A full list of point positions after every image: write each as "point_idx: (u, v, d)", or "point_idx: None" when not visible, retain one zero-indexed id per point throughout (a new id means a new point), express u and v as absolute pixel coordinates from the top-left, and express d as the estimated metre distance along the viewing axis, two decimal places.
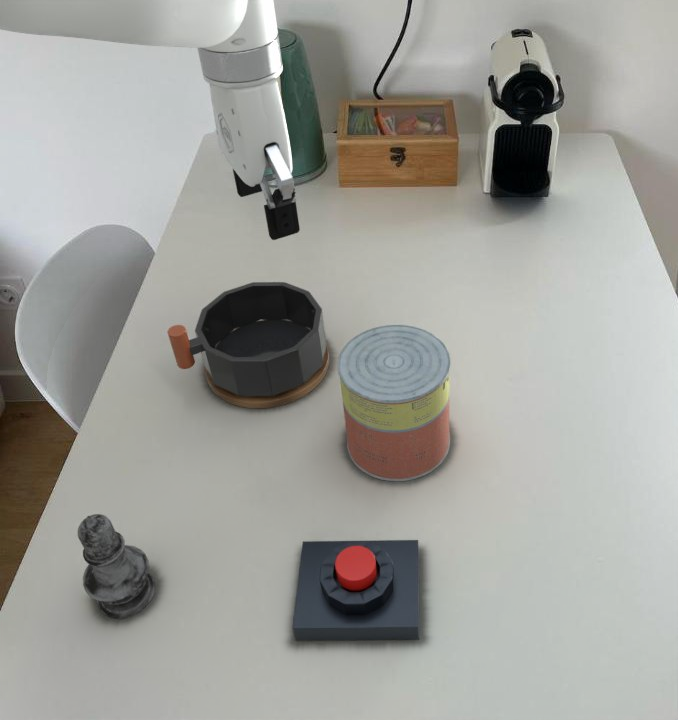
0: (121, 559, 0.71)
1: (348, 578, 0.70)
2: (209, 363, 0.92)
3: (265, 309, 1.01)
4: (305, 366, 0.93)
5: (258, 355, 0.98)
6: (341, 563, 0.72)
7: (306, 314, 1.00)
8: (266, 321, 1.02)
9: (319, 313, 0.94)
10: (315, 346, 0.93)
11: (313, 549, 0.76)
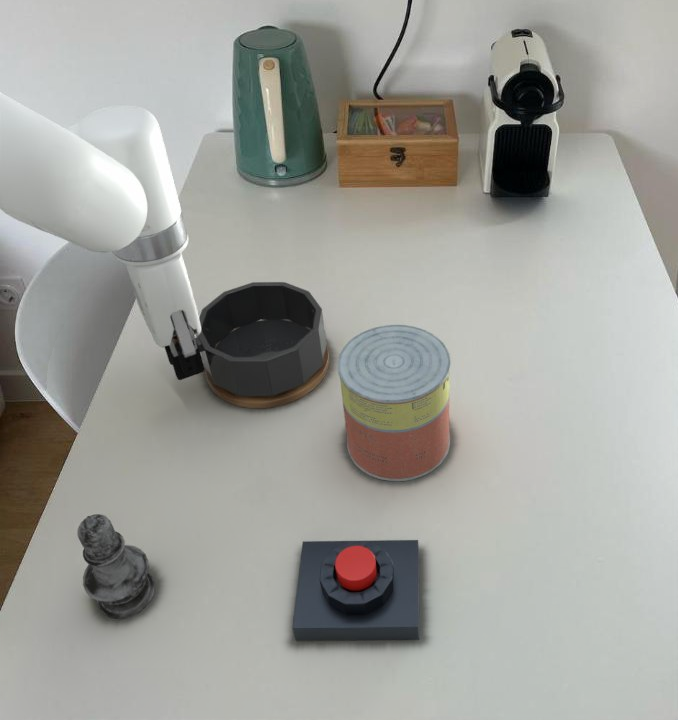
0: (121, 559, 0.71)
1: (348, 578, 0.70)
2: (209, 363, 0.92)
3: (265, 309, 1.01)
4: (305, 366, 0.93)
5: (258, 355, 0.98)
6: (341, 563, 0.72)
7: (306, 314, 1.00)
8: (266, 321, 1.02)
9: (319, 313, 0.94)
10: (315, 346, 0.93)
11: (313, 549, 0.76)
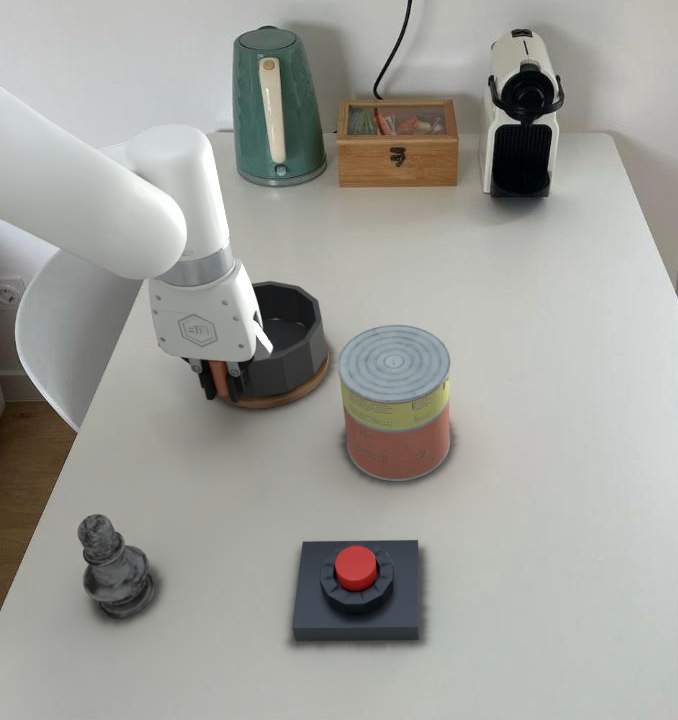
0: (121, 559, 0.71)
1: (348, 578, 0.70)
2: (250, 376, 0.90)
3: None
4: None
5: None
6: (341, 563, 0.72)
7: (272, 305, 1.01)
8: None
9: (302, 289, 0.98)
10: None
11: (313, 549, 0.76)
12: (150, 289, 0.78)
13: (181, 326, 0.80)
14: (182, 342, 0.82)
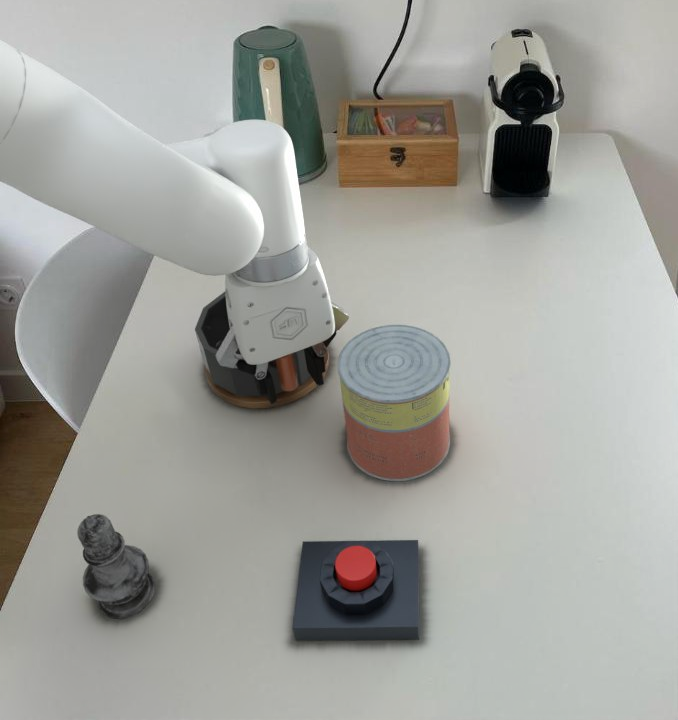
0: (121, 559, 0.71)
1: (348, 578, 0.70)
2: (298, 363, 0.91)
3: None
4: None
5: None
6: (341, 563, 0.72)
7: None
8: None
9: None
10: None
11: (313, 549, 0.76)
12: (241, 299, 0.77)
13: (272, 326, 0.80)
14: (272, 344, 0.81)
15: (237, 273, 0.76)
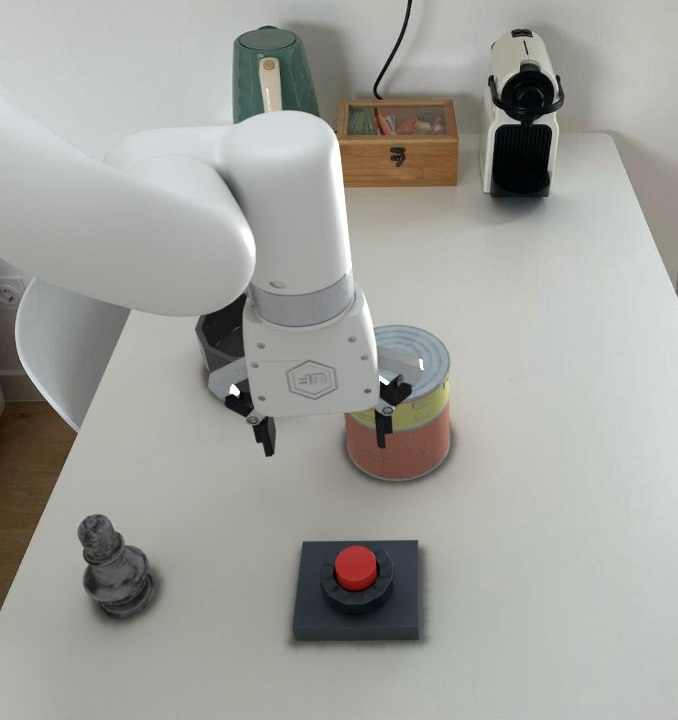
0: (121, 559, 0.71)
1: (348, 578, 0.70)
2: None
3: None
4: None
5: None
6: (341, 563, 0.72)
7: (232, 315, 1.00)
8: None
9: None
10: None
11: (313, 549, 0.76)
12: (249, 336, 0.59)
13: (289, 378, 0.62)
14: (288, 398, 0.63)
15: (251, 303, 0.58)
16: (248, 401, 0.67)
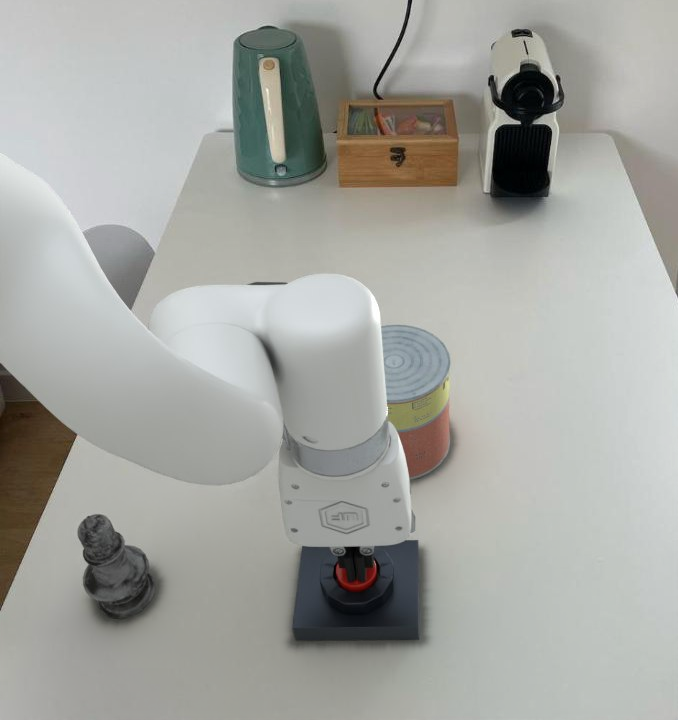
0: (121, 559, 0.71)
1: (349, 584, 0.71)
2: None
3: None
4: None
5: None
6: (342, 569, 0.72)
7: None
8: None
9: (262, 282, 0.99)
10: None
11: (313, 549, 0.76)
12: (284, 477, 0.60)
13: (322, 515, 0.62)
14: (320, 531, 0.64)
15: (287, 446, 0.59)
16: None
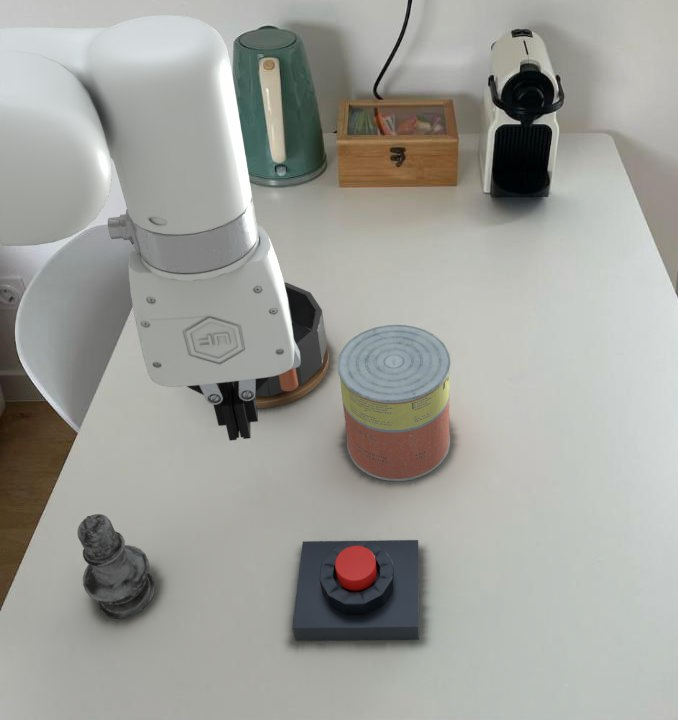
0: (121, 559, 0.71)
1: (348, 578, 0.70)
2: None
3: None
4: None
5: None
6: (341, 563, 0.72)
7: None
8: None
9: None
10: None
11: (313, 549, 0.76)
12: (136, 289, 0.51)
13: (188, 338, 0.53)
14: (188, 363, 0.55)
15: (137, 249, 0.50)
16: None
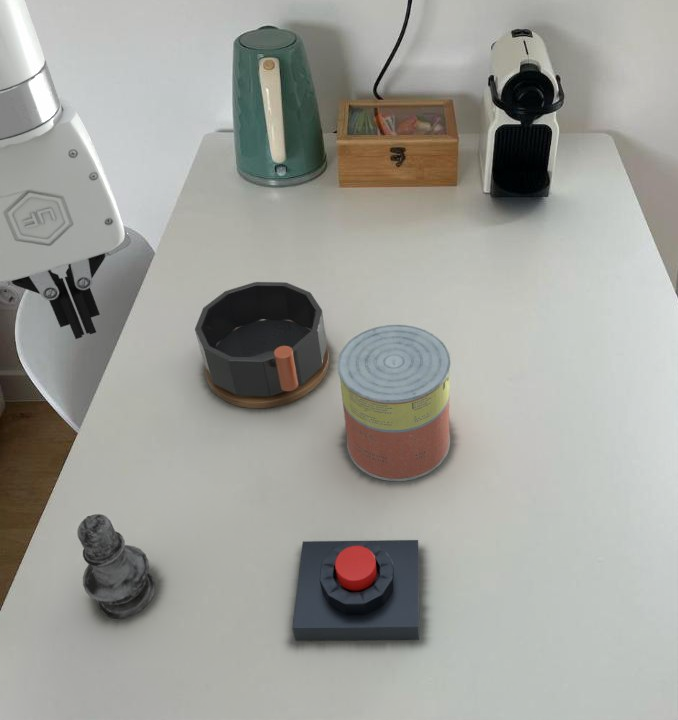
0: (121, 559, 0.71)
1: (348, 578, 0.70)
2: (298, 363, 0.91)
3: None
4: None
5: None
6: (341, 563, 0.72)
7: (232, 315, 1.00)
8: None
9: (262, 282, 0.99)
10: None
11: (313, 549, 0.76)
12: None
13: (11, 221, 0.53)
14: (17, 250, 0.54)
15: None
16: None
